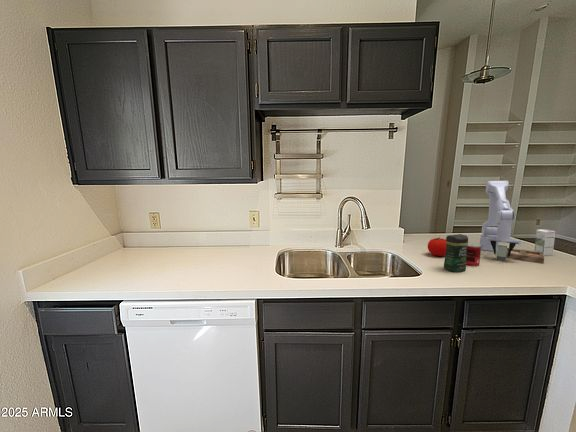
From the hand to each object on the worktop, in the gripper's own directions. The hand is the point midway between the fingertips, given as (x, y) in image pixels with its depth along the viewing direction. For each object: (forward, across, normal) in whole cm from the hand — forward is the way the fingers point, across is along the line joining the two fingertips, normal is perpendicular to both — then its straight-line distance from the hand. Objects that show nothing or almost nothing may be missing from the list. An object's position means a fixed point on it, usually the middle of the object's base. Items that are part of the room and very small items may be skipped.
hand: (501, 254), depth 139 cm
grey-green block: (+3, 0, 0) cm, 3 cm away
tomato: (+3, -29, -11) cm, 31 cm away
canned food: (+3, -12, -17) cm, 21 cm away
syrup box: (+3, +18, +27) cm, 33 cm away
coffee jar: (+3, -17, -32) cm, 36 cm away
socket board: (+3, +9, +12) cm, 15 cm away
